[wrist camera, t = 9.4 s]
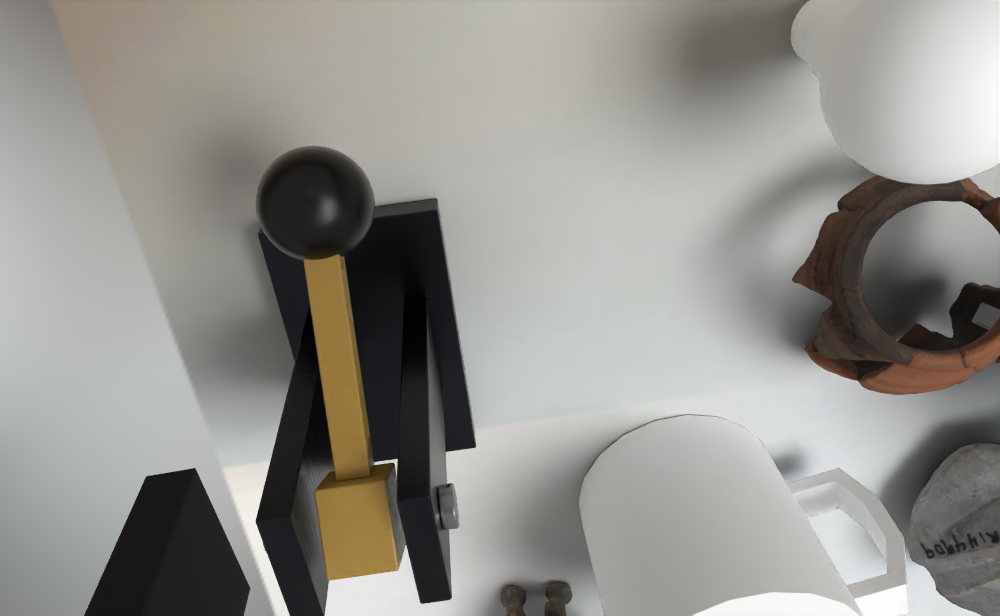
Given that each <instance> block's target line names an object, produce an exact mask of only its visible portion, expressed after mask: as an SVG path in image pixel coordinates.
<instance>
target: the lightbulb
mask: <svg viewBox="0 0 1000 616" xmlns="http://www.w3.org/2000/svg"><path fill="white" fill-rule="evenodd" d="M791 43H792V47H793V49H794V51H795V53H796V54H797V55H798V56H799V57H800V58H801V59H802V60H803V61H804V62H806V63H807V64H808V65H809V66H810V68H811V70H812V72H813V73H814V74H815V76H816V77H817V78H818V79H819V80H820V97H821V107H822V110H823V114H824V118H825V121H826V123H827V125H828V127H829V129H830V131H831V133H832V134H833V136H834V138H835V140H836V141H837V143H838V145H839V146H840V147H841V148H842V149H843V150H844V152H845V153H846V154H847V155H848V156H849V157H850V158H851V159H853V160H854V161H856V162H857V163H858V164H860V165H861V166H863V167H864V168H866V169H867V170H869V171H870V172H872V173H874V174H877V175H880V176H883V177H885V178H888V179H892V180H895V181H899V182H905V183H913V184H941V183H950V182H954V181H957V180H961V179H965V178H968V177H971V176H974V175H977V174H979V173H981V172H984V171H986V170H988V169H990V168H993V167H994V166H996V165H998V164H999V163H1000V0H809V1H808V2H807V3H806V4H805V5H804V6H803V7H802V8H801V9H800V11H799V12H798V13H797V15H796V17H795V19H794V21H793V25H792V28H791Z"/></svg>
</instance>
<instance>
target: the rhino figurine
mask: <svg viewBox="0 0 1000 616" xmlns="http://www.w3.org/2000/svg"><path fill="white" fill-rule="evenodd" d="M545 593H546V597H547V598H548V601H547V602H546V605H545V616H566V609H565V605H566V604H568V603H569V602H570V600H571V599H572V591H571V587H570V585H569V584H565V583H562V584H561V583H553V584H550V585H548V586H547V587H546V591H545ZM525 602H526V593H525V591H523V590H521V589H519V588H518V587H515V586H509V587H507V588H506V589H504V590H503V592H502V594H501V603H502V604H503V606H505V607H506V609H507V616H526V615H525V613H524V611H523V604H524V603H525Z"/></svg>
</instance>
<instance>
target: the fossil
mask: <svg viewBox="0 0 1000 616" xmlns="http://www.w3.org/2000/svg"><path fill="white" fill-rule="evenodd" d="M908 548H909V553H910V558H911V559H912V561H913V562H915V563H917V564H919V565H922V566H924V567H925V568H926V569H927V570H928V571H929V572H930V574H931V576H932V578H933V579H934V581H935V584H936V590H937V591H938V592H939V593H940V595H942V596H943V597H945V598H946V599H947V600H948V601H950V602H952V603H953V604H955V605H957V606H959V607H961V608H964V609H967V610H969V611H973V612H976V613H978V614H980V615H982V616H1000V444H991V443H974V444H970V445H967V446H962V447H960V448H959V449H958V450H957V451H955V452H953V453H952V454H950V455H949V457H947V458H946V459H945V460H944V461H943V462H942V463H941V465H940V466H939V468H938V469H936V470H935V471H934V472H933V474H932V476H931V478H930V480H929V481H928V483H927V484H926V485H925V487H924V488H923V489H922V491H921V493H920V495H919V496H918V498H917V501H916V503H915V505H914V507H913V509H912V512H911V515H910V526H909V533H908Z"/></svg>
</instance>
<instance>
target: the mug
mask: <svg viewBox="0 0 1000 616" xmlns="http://www.w3.org/2000/svg"><path fill="white" fill-rule="evenodd" d="M578 502H579V508H580V515H581V521H582V526H583V530H584V534H585V538H586V542H587V546H588V550H589V555H590V559H591V563H592V567H593V571H594V575H595V579H596V583H597V587H598V591H599V596H600V600H601V604H602V608H603V612H604V616H899V615H902V614H906V613H909V601H908V584H907V566H906V555H905V544H904V537H903V535H902V533H901V532H900V530H899V529H898V527H897V526H896V524H895V523H894V521H893V520H892V518H891V516H890V515H889V513H888V512H887V510H886V509H885V507H884V506H883V504H882V503H881V501H880V499H879V498H878V497H877V496H876V495H875V494H874V493H872V492H871V491H870V490H868V489H867V488H865V487H864V486H863V485H861V484H860V483H859V482H857V481H856V480H855V479H853V478H852V477H851V476H849V475H848V474H847V473H845V472H844V471H843V470H841V469H840V468H837V469H834V470H830V471H827V472H824V473H821V474H817V475H814V476H811V477H807V478H804V479H801V480H798V481H794V482H791V483H788V484H786V482H785V480H784V478H783V477H782V475H781V473H780V472H779V470H778V468H777V467H776V465H775V463H774V461H773V460H772V458H771V456H770V455H769V453H768V451H767V449H766V448H765V446H764V444H763V443H762V442H761V441H760V440H759V439H757V438H756V437H755V436H754V435H753V434H752V433H751V432H750V431H748V430H747V429H746V428H745V427H743V426H741V425H738V424H735V423H733V422H730V421H727V420H725V419H722V418H720V417H712V416H697V415H683V416H678V417H672V418H667V419H662V420H657V421H653V422H651V423H649V424H646V425H644V426H642V427H640V428H638V429H636V430H633V431H631V432H629V433H627V434H625V435H623V436H622V437H621V438H620V439H618V440H617V441H616V442H615V443H613V444H612V445H611V446H610V447H608V448H607V449H606V450H605V451H603V452H602V453H601V454H600V455H599V457H598V458H597V459H596V461H595V462H594V464H593V465H592V467H591V468H590V470H589V471H588V473H587V474H586V475H585V477H584V481H583V485H582V488H581V492H580V496H579V500H578ZM838 508H840V509H841V510H843V511H844V512H845V513H846V514H848V515H849V516H850V517H851V518H853V519H854V520H855V521H856V522H858V523H859V524H860V525H861V526H863V527H864V528H865V529H866V530H867V531H868V532H869V534H870V536H871V537H872V539H873V541H874V542H875V544H876V546H877V547H878V549H879V551H880V552H881V554H882V556H883V557H884V559H885V561H886V562H887V574H884V575H881V576H877V577H874V578H871V579H867V580H864V581H860V582H857V583H853V584H850V585H847V586H846V584H845V583H844V581H843V579H842V577H841V576H840V574H839V572H838V571H837V569H836V567H835V566H834V564H833V562H832V560H831V559H830V557H829V555H828V554H827V552H826V550H825V548H824V547H823V545H822V543H821V542H820V540H819V538H818V537H817V535H816V533H815V531H814V530H813V528H812V526H811V525H810V523H809V521H808V519H807V518H808V517H811V516H814V515H818V514H821V513H824V512H828V511H831V510H834V509H838Z"/></svg>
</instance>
